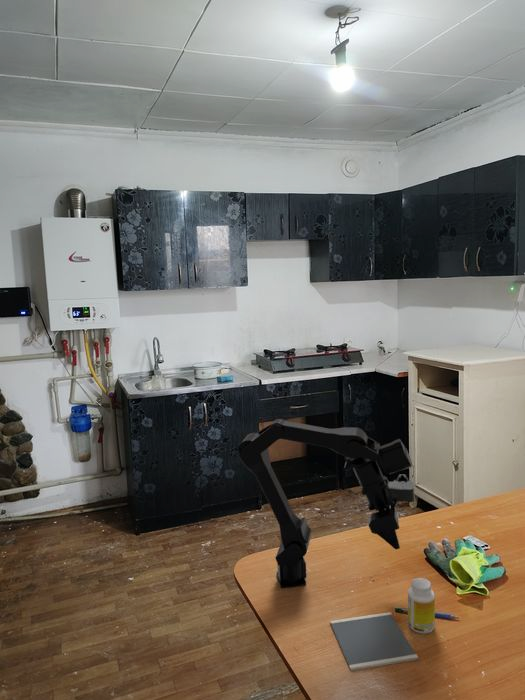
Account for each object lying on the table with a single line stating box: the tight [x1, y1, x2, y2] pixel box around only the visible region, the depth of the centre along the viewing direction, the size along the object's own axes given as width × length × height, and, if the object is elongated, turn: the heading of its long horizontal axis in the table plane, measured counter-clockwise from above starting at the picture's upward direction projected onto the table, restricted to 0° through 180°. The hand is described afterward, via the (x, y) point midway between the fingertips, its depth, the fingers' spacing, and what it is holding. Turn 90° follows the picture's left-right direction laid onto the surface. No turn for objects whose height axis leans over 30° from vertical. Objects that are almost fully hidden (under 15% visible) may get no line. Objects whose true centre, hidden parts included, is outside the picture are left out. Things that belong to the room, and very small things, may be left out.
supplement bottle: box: [407, 577, 436, 634], centre depth 113 cm, size 6×6×10 cm
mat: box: [329, 611, 419, 672], centre depth 110 cm, size 14×14×1 cm
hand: (397, 538), depth 124 cm, fingers open, 9 cm apart
